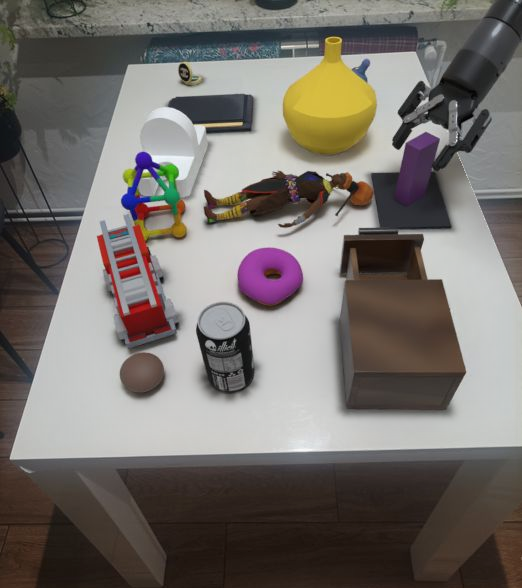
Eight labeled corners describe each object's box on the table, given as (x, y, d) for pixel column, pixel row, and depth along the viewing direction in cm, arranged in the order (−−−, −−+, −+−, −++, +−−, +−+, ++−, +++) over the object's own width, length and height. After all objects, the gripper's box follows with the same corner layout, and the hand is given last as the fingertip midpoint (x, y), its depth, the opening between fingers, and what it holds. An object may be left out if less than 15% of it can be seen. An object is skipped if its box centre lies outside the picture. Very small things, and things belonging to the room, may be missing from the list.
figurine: (203, 170, 88) (364, 136, 84) (214, 206, 95) (365, 175, 91) (201, 224, 79) (383, 189, 75) (214, 260, 86) (382, 228, 82)
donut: (267, 319, 72) (265, 299, 68) (224, 284, 76) (221, 263, 73) (315, 285, 75) (316, 264, 72) (272, 253, 80) (271, 232, 76)
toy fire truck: (157, 258, 81) (142, 210, 73) (185, 339, 70) (171, 293, 62) (105, 273, 79) (84, 225, 71) (125, 358, 69) (103, 313, 60)
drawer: (338, 250, 78) (341, 216, 73) (409, 249, 78) (418, 215, 72) (345, 335, 68) (350, 303, 62) (428, 335, 67) (440, 303, 62)
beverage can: (232, 347, 69) (223, 290, 59) (264, 373, 66) (260, 318, 56) (198, 374, 66) (182, 320, 57) (229, 403, 63) (218, 350, 54)
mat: (434, 173, 91) (434, 171, 91) (451, 228, 82) (451, 226, 81) (371, 175, 92) (371, 172, 91) (380, 229, 82) (381, 227, 82)
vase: (363, 116, 104) (376, 16, 89) (378, 164, 94) (395, 60, 78) (280, 121, 105) (279, 22, 89) (285, 170, 94) (284, 67, 78)
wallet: (254, 89, 110) (251, 124, 101) (254, 98, 112) (251, 132, 103) (169, 92, 111) (158, 126, 102) (170, 100, 113) (160, 135, 104)
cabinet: (339, 321, 71) (345, 280, 64) (426, 321, 70) (442, 279, 63) (346, 408, 62) (354, 372, 55) (446, 409, 61) (466, 372, 54)
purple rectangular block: (412, 188, 88) (426, 131, 79) (424, 195, 86) (440, 138, 77) (393, 199, 86) (405, 142, 77) (406, 207, 85) (419, 150, 76)
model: (118, 245, 82) (113, 163, 71) (126, 211, 88) (123, 132, 77) (184, 252, 83) (190, 173, 73) (187, 219, 90) (193, 142, 79)
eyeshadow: (205, 79, 118) (202, 58, 114) (191, 87, 116) (188, 66, 112) (192, 75, 120) (189, 53, 116) (178, 83, 118) (175, 61, 114)
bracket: (188, 197, 90) (177, 141, 81) (138, 195, 91) (121, 139, 82) (209, 142, 101) (200, 87, 92) (163, 141, 102) (150, 86, 93)
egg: (120, 398, 65) (111, 383, 61) (127, 363, 68) (119, 346, 65) (164, 397, 64) (157, 381, 61) (169, 361, 68) (163, 345, 65)
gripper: (436, 34, 74) (374, 132, 79) (516, 64, 67) (442, 168, 72) (449, 60, 80) (390, 149, 85) (524, 90, 73) (455, 184, 78)
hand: (414, 158), depth 79 cm, fingers open, 8 cm apart
